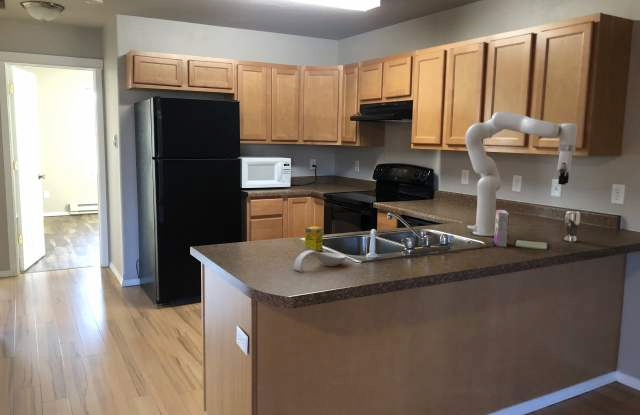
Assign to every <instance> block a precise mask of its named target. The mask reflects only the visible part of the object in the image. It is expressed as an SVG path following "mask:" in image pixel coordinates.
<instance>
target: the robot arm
mask: <svg viewBox="0 0 640 415" xmlns="http://www.w3.org/2000/svg"><path fill="white" fill-rule="evenodd" d="M578 127H579V126H578V124H577V123H572V122H564V123H560V122H559V123H557V122H553V121H547V120H546V121H545V120H541V119H537V118H532V117H530V116H527V115H522V114H517V113H512V112H509V111H502V110H501V111H500V110H498V111H496V112H494V113H493V114H492V115H491V118H490V119H489V120H487V121H484V122H476V123H473V124H472V125H471V126H469V128H468V129H467V131H466V132H465V136H464V142H465V146H466V149H467V153H468V156H469V159H470V163H471V166H472V169H473V171H474V172H475V174H478V175H480V179H479V180H478V181H477V184H476V193H477V195H476V196H477V199H476V200H477V201H476V217H475V218H476V220H475V224H474V225H467V227H466V228H467V230H472V234H473V235H475V236H480V237H494V236H495V218H496V210H497V209H496V208H497V192H498V191H499V190H500V189H501V186H502V179H501V176H500V174H499V171H498V167H497V165H496V162H495V160H494V159H493V158H492V157H490V156H488V155H487V152H486V149H485V146H484V144H483V142H482V140H486V139H489V138H491V137H493V136H495V135H496V134H498V133H499V132H502V131H503V130H507V131H512V132H516V133H521V134H529V135H534V136H538V137H542V138H546V139H547V138H548V139H557V138H559V139H558V149H557V152H559V156H558V162H557V169H556V172H558V182H557V184H558V185H561V186H562V185H564V186H565V185H566V184H569V178H570V175H569V174H570V171H571V166H572V161H573V153H576V148H577V147H576V145H577V138H578Z"/></svg>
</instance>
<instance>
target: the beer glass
mask: <svg viewBox="0 0 640 415" xmlns="http://www.w3.org/2000/svg"><path fill="white" fill-rule="evenodd" d="M580 223H581V212H580V211H574V210H566V211H565V216H564V230H565V231H564V232H565V234H564V238H563V241H564V242H567V243H576V242H578V235H577V234H578V231H579V227H580Z"/></svg>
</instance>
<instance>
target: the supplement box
mask: <svg viewBox="0 0 640 415" xmlns="http://www.w3.org/2000/svg"><path fill="white" fill-rule="evenodd" d="M323 233H324V228H323V227H320V226H314V225H313V226H309V227H305V228H304V251H307V250H312V251H315V252H320V253H323V247H324V246H323V240H324V234H323Z"/></svg>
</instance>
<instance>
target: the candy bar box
mask: <svg viewBox="0 0 640 415" xmlns="http://www.w3.org/2000/svg"><path fill="white" fill-rule="evenodd" d="M509 218H510V214H509V212H508V211H507V210H505V209H495V224H494V232H495V236H493V237H494V238H493V242H494V244H495V245H496V246H497V248H507V247H508V237H509V236H508V235H509V220H510V219H509Z"/></svg>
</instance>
